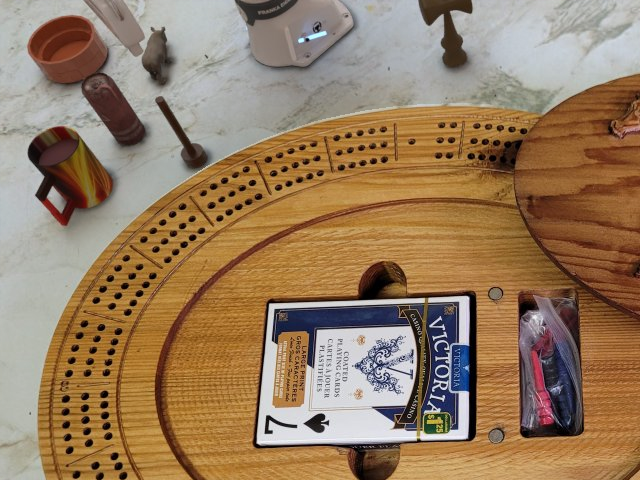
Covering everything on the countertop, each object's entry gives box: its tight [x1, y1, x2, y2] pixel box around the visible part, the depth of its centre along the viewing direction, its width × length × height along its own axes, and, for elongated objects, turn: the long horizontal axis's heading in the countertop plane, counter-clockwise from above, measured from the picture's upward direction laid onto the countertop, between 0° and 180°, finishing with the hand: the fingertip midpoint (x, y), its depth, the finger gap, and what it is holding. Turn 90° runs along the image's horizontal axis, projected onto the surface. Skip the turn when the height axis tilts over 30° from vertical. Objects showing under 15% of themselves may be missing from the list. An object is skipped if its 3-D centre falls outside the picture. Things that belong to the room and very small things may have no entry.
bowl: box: [26, 14, 109, 84], centre depth 174 cm, size 14×14×6 cm
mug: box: [27, 125, 114, 227], centre depth 154 cm, size 10×14×12 cm
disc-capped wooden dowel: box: [154, 95, 209, 170], centre depth 155 cm, size 4×4×16 cm
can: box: [80, 71, 146, 147], centre depth 160 cm, size 6×6×14 cm
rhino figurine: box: [141, 26, 173, 85], centre depth 172 cm, size 4×14×6 cm, turn 0°
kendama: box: [417, 0, 474, 68], centre depth 159 cm, size 6×10×20 cm, turn 110°
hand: (124, 38), depth 136 cm, fingers open, 8 cm apart
